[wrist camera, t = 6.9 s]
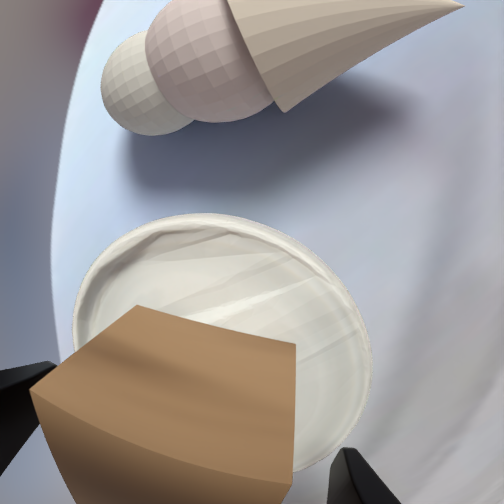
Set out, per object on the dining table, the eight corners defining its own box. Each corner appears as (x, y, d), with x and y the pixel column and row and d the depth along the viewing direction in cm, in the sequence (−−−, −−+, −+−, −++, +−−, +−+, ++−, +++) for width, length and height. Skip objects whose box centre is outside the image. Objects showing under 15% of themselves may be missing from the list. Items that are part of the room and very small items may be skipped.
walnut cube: (261, 450, 10) (242, 561, 5) (137, 415, 10) (76, 504, 5) (295, 344, 9) (292, 483, 4) (136, 304, 9) (29, 388, 4)
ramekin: (194, 159, 13) (138, 144, 8) (395, 294, 13) (442, 347, 8) (104, 337, 16) (50, 383, 11) (265, 437, 16) (254, 506, 11)
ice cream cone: (442, 51, 10) (168, 125, 15) (413, -59, 6) (111, 36, 11) (515, 104, 6) (128, 199, 11) (493, -62, 2) (36, 80, 7)
